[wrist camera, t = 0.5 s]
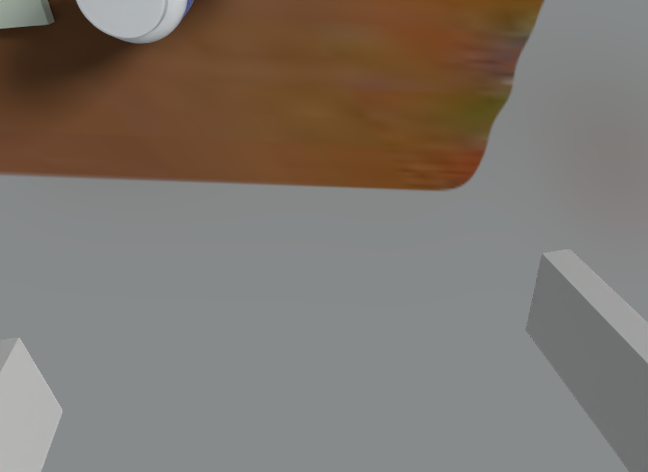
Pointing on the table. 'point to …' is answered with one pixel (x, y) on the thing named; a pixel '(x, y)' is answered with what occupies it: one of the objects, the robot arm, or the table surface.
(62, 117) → the table surface
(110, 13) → the pill bottle
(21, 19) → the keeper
